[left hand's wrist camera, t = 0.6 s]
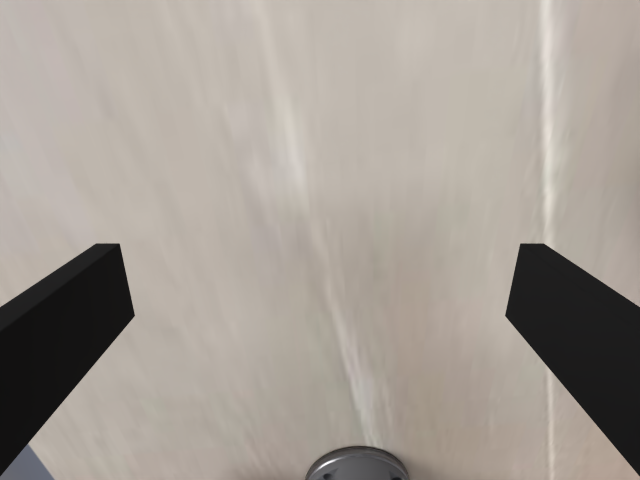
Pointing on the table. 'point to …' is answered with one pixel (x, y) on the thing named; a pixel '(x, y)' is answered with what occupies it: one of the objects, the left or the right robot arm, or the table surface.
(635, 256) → the table surface
